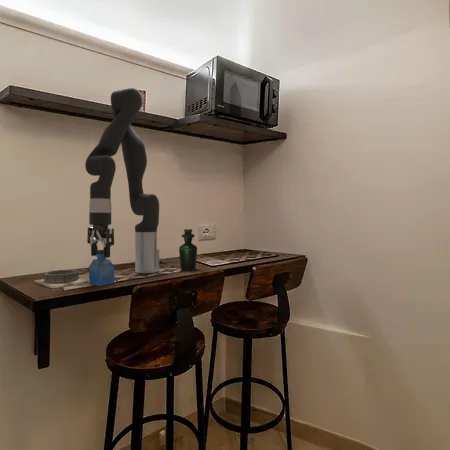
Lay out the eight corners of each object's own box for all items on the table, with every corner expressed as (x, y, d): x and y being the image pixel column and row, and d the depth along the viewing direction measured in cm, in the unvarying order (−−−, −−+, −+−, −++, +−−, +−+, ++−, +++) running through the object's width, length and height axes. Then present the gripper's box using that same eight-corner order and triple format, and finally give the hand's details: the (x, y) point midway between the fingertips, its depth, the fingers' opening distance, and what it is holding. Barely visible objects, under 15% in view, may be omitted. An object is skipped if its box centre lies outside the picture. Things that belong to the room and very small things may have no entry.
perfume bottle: (104, 280, 133) (104, 249, 132) (114, 283, 129) (113, 250, 129) (89, 283, 128) (88, 250, 128) (98, 285, 124) (98, 251, 124)
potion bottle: (187, 271, 153) (187, 229, 152) (175, 269, 158) (175, 229, 157) (201, 269, 159) (201, 229, 158) (188, 267, 164) (188, 228, 163)
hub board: (69, 277, 139) (69, 267, 139) (88, 282, 130) (88, 272, 129) (34, 282, 130) (34, 272, 129) (52, 288, 120) (52, 277, 120)
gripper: (120, 211, 126) (120, 257, 126) (99, 211, 135) (99, 254, 135) (101, 211, 120) (101, 259, 120) (80, 211, 129) (80, 255, 130)
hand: (100, 256), depth 128 cm, fingers open, 8 cm apart
